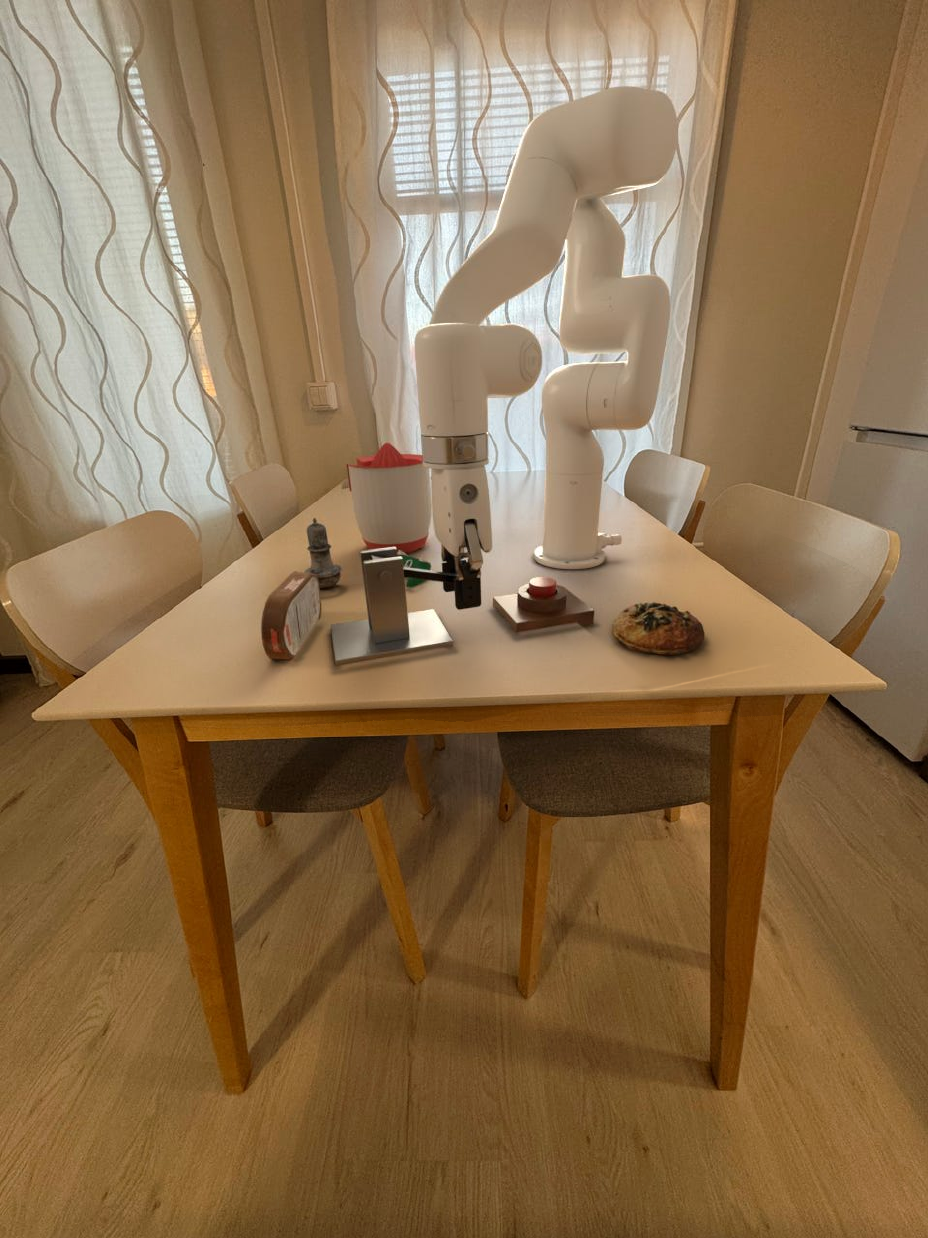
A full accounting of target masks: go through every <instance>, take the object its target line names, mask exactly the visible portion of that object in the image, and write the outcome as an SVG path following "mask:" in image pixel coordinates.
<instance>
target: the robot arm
mask: <svg viewBox="0 0 928 1238" xmlns="http://www.w3.org/2000/svg"><path fill="white" fill-rule="evenodd" d="M678 135H679V126H678V117H677V113H676V109H675V106H674V103H673V102H672V100H671V99H670V97H669V96H668V95H667V93H665V92H663V91H661V90H658V89H657V90H656V89H649V88H645V87H637V86H629V85H628V86H626V85H625V86H613V87H610V88H606V89H603V90H600V91H597V92H595V93H591V94H589V95H586V96H583V97H579V98H577V99H573V100H571V101H568V102H565V103H562V104H559V105H556V106H553V107H551V108H548V109H546V110H545V111H543V112H541V113H540V114H538V115H537V116H536V117H534V118H533V120H531V122H529V124H528V125H527V127H526V129H525V130H524V132H523V134H522V136H521V138H520V141H519V145H518V148H517V151H516V154H515V158H514V161H513V164H512V167H511V171H510V174H509V177H508V180H507V182H506V183H507V184H506V186H505V188H504V189H505V190H504V193H503V196H502V199H501V203H500V206H499V209H498V213H497V216H496V218H495V222H494V225H493V228H492V230H491V231H490V233H489V234H488V235H487V236H486V237H485V238H484V239H483V240H482V241H481V242H480V243H479V244H478V245H477V246H476V248H475V249H474V250H473V251H471V253H470V255H468V257H467V258H466V259H465V260H464V261H463V263H462V264H461V265H460V267H458V268H457V270H456V271H455V273H453V274H452V276H451V277H450V278H449V280H448V281H447V283H446V284H445V285H444V287H443V289H442V290H441V292H440V294H439V296H438V297H437V300H436V303H435V306H434V308H433V312H432V313H431V317H430V321H429V324H428V325H425V326H423V327H420V328H419V329H418V331H417V332H416V334H415V338H414V361H415V373H416V375H415V376H416V388H417V389H416V390H417V401H418V414H419V416H418V417H419V428H420V429H419V430H420V443H421V455H422V458H423V466H424V467H426V468H429V469H430V487H431V504H432V522H433V531H434V535H435V537H436V539H437V540H438V542H439V543H440V544H441V545H440V546H441V553H440V555H441V556H440V557H441V561H442V562H441V572H446V573H450V571H451V570H452V569H453V568H456V575H457V578H454V583H447V582H442V589H443V591H444V592H445V593H452V592H454V606H455V608H456V609H457V610H458V611H461V610H467V609H474V608H479V607H481V606H482V570H481V568H482V565H483V564H484V557H483V554H482V552H484V553H490V552H491V551H492V549H493V531H492V530H493V529H492V513H491V499H490V488H489V481H488V474H487V469H486V465H488V464H489V462H490V459H489V458H490V456H489V455H490V454H489V451H490V450H489V407H488V406H489V403H488V402H489V400H488V399H510V398H515V397H519V396H522V395H524V394H526V393H527V392H529V391H530V390H531V389H532V388H533V387H534V386H535V385H536V383H537V381H538V379H539V377H540V375H541V371H542V367H543V350H542V347H541V344H540V341H539V339H538V337H536V336H537V335H535V334H534V333H533V332H532V330H530V329H529V328H527V327H526V326H524V325H521V324H517V323H500V324H499V323H498V324H489V325H482V323H483V322H484V321H485V320H486V318H488V317H489V316H490V315H492V313H493V312H494V311H495V310H497V309H498V308H499V307H501V306H503V305H504V304H505V303H507V302H509V301H511V300H512V299H514V298H515V297H517V296H519V295H521V294H522V293H524V292H526V291H528V290H529V289H531V288H532V287H533V286H535V285H537V284H538V283H540V282H541V281H542V280H544V279H545V278H546V277H548V276H549V275H550V274H551V273H552V272H553V271H554V270H555V268H556V267H557V266H558V264H559V261H560V259H561V257H562V253H563V249H564V246H565V258H564V259H565V260H564V272H563V280H562V281H563V282H562V291H561V300H560V309H559V310H560V311H559V323H558V335H559V336H558V337H559V341H560V345H561V346H562V348H563V349H564V351H566V352H568V353H570V354H574V355H601V354H617V353H626V360H624V361H606V362H605V361H604V362H603V361H597V362H579V363H570V364H565V365H562V366H561V365H560V367H557V368H555V369H554V370H552V371H551V372H550V373H549V374H548V375H547V377H546V378H545V380H544V382H543V385H542V389H541V408H542V413H543V414H542V415H543V421H544V430H545V431H544V432H545V470H544V471H545V472H544V473H545V474H544V495H543V496H544V498H543V523H542V524H543V527H542V529H543V530H542V545H540V546H538V547H537V548H535V549H534V551H533V559H534V560H535V561H536V563H538V564H540V565H542V566H545V567H548V568H554V569H559V570H584V569H590V568H595V567H597V566H599V565H601V564H603V563H604V562H605V559H606V558H605V557H606V554H605V551H604V550H603V549H605V548H607V546H610V547H613V546H619V545H621V544H622V543H623V542H622V541H623V537H622V535H621V534H620V533H617V534H615V533H614V534H609V535H608V533H607V532H599V525H600V511H601V499H602V487H603V476H604V475H603V474H604V473H603V472H604V465H605V458H604V451H603V450H602V447H601V444H600V442H599V441H598V438H597V437H596V435H595V433H594V432H593V431H597V430H598V431H637V430H639V429H643V428H644V427H645V426H647V425H648V424H649V422H650V421H651V419H652V417H653V414H654V412H655V409H656V405H657V401H658V396H659V389H660V383H661V377H662V369H663V363H664V358H665V352H666V346H667V338H668V333H669V325H670V318H671V317H670V316H671V296H670V290H669V287H668V284H667V283H666V281H665V280H664V278H662V277H661V276H659V275H657V274H650V273H648V274H647V273H644V274H636V275H628V276H627V275H626V276H623V275H624V265H625V258H626V257H625V256H626V249H627V240H626V239H627V238H626V235H625V232H624V230H623V228H622V225H621V224H620V222H619V221H618V219H617V217H616V216H615V215H614V213H613V211H611V210H610V209H609V207H608V206H607V204H606V203H605V202H604V200H603V198H604V197H608V196H609V197H610V196H613V195H617V194H623V193H627V192H630V191H635V190H640V189H645V188H648V187H653V186H655V185H657V184H658V183H660V182H661V181H662V180H663V179H664V177H665V176H666V175H667V173H668V172H669V170H670V169H671V166H672V164H673V161H674V158H675V154H676V151H677V145H678V137H679V136H678ZM465 548H466V551H465ZM466 559H467V560H466Z"/></svg>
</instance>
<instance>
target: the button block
mask: <svg viewBox="0 0 928 1238" xmlns="http://www.w3.org/2000/svg"><path fill="white" fill-rule="evenodd" d="M492 606H493V608H494V609H495V610H496V611H497V612H498V613H499V614H500V616H501V617H502V618H503V619H504V620H505V621H506V623H507V624H508V625H509V626H510V627H511V628H512V629H513V630H514V631H515V633H523V632H528V631H534V630H539V629H545V628H550V627H556V626H562V625H568V624H575V623H577V624H578V625H579V626H580V627H589V626H594V620H595V610H594V608H592V607H591V606H589V605H588V604H587V603H586V602H584V601H583V600H582V599H580V598H579V597H578V596H577V595H575V594H574V593H572V592H571V591H570V590H568V588H566V587H565V586H563V585H561V584H557V583H556V595H554V596H552V597H535V596H532V595H529V583H526V584H523V585H521V586H519V587H518V590H517V593H512V594H511V593H510V594H504V595H498V596H493V597H492Z"/></svg>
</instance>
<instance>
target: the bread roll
mask: <svg viewBox="0 0 928 1238" xmlns="http://www.w3.org/2000/svg"><path fill="white" fill-rule="evenodd" d="M612 628H613V635H614V637H615V638H616V639H618V640H619V642H621V644H623V646H625V647H626V648H628V649H630V650H633V651H636V652H638V653H649V654H651V653H652V654H657V655H663V656H671V655H679V654H681V655H682V654H685V653H689V652H693V651H694V650H696V649H697V648H699V647H700V645H701V644H702V643H703V642H704V640H705V635H706V634H705V630H704V626H703V624H702V622H701V621H700V620H699V619H698V618H697V617H695V616H694V615H693V614H691V612H690V611H688V610H685V611H680V610H679V609H678V607H677V606H675V605H674V606H670V605H669V604H666V603H661V602H655V601H653V602H651V603H649V602H644V603H641V602H639V603H635V604H633V605H630V606H627V607H625V608H624V609H623V610H622V611H621V612H619V614H618V615H617V616H616V617H615V619H614V620H613V624H612Z"/></svg>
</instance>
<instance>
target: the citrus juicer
mask: <svg viewBox="0 0 928 1238" xmlns="http://www.w3.org/2000/svg"><path fill="white" fill-rule="evenodd" d="M346 471H347V478H348V479H346V480H345V481H343V482H342V484H341V490H345V489H349V492H351V498H352V506H353V513H354V517H355V520H356V521H355V522H356V524H357V527H358V530H359V532H360V535H361V537H362V540H363V543H364V544H365V545H366V547H367V550H371V549H380V548H388V547H396V549H397V554H398V550H401V551H402V552H404V553H405V554H410V553H413V552H414V551H416V550H419V549H422V548H423V547H424V546H425V545H426V543H427V540H428V537H429V534H430V532H429V531H430V528H431V523H432V522H431V520H432V514H433V511H432V488H431V470H430V468H426V467H424V466H423V458H422V454H414V453H401V452H400V451H399V450H398V449H397V448H396V447H395V446H394V445H393V444H392V443H390V442H384V443H383V444H382V445H381V447H380V448H379V449H378V451H377V452H376V454H375V455H369V456H362V457H357V458H356V465H355V464H351V463H349V462H346Z"/></svg>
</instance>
